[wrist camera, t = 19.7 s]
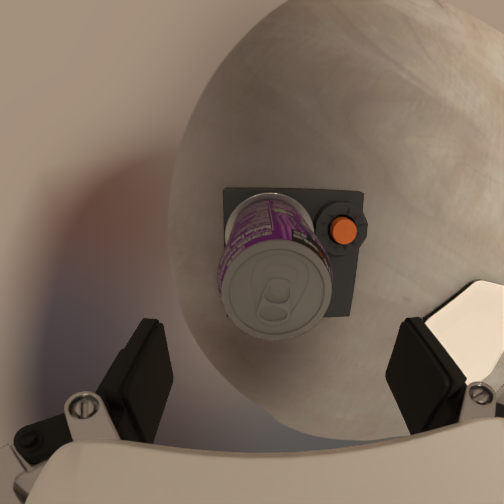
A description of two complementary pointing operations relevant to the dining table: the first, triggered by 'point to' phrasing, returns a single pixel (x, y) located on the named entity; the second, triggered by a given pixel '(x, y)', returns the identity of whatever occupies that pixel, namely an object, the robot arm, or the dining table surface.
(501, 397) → the glass holder
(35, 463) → the robot arm
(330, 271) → the beverage can
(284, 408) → the dining table surface
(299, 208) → the weighing platter
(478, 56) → the dining table surface
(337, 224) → the tare button
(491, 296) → the plate
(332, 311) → the scale
